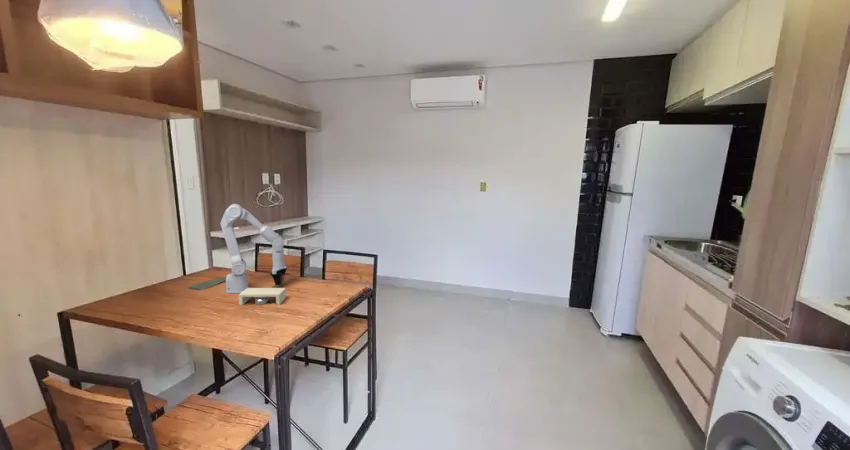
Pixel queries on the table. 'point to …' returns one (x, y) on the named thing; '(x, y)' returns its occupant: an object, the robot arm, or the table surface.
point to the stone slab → (207, 284)
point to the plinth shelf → (263, 294)
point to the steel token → (261, 300)
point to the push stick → (280, 282)
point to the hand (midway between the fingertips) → (279, 283)
